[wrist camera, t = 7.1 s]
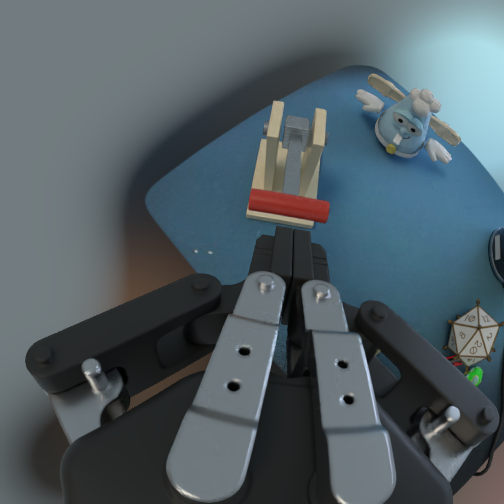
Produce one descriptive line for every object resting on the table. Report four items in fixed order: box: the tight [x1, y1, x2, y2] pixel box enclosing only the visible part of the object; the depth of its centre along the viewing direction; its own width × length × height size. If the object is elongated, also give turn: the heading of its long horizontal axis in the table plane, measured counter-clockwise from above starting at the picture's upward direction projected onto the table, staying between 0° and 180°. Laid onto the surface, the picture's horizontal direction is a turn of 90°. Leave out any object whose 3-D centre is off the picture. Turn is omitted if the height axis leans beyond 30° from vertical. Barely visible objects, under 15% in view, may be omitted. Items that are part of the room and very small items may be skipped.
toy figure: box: [356, 74, 461, 164], centre depth 30 cm, size 17×10×15 cm, turn 52°
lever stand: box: [246, 101, 328, 229], centre depth 30 cm, size 11×8×13 cm
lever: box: [248, 115, 330, 223], centre depth 22 cm, size 13×5×2 cm, turn 170°
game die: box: [442, 298, 504, 372], centre depth 27 cm, size 9×8×10 cm
